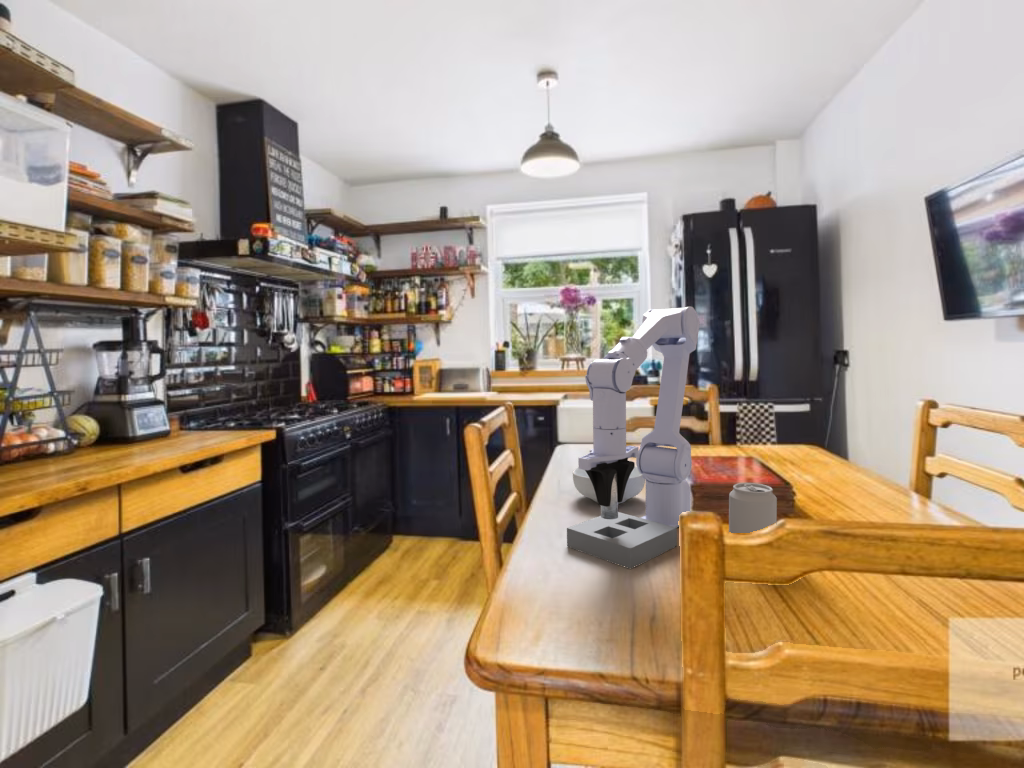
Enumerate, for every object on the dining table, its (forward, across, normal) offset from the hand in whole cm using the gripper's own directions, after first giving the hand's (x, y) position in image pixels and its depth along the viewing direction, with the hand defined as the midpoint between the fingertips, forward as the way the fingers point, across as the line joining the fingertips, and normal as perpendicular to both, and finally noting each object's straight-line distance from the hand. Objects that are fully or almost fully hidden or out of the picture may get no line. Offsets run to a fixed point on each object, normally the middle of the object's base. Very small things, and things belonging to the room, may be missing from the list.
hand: (610, 503), depth 95 cm
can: (+9, -16, +18) cm, 26 cm away
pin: (+2, 0, 0) cm, 3 cm away
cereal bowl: (+9, -25, -20) cm, 33 cm away
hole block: (+9, -3, 0) cm, 9 cm away
